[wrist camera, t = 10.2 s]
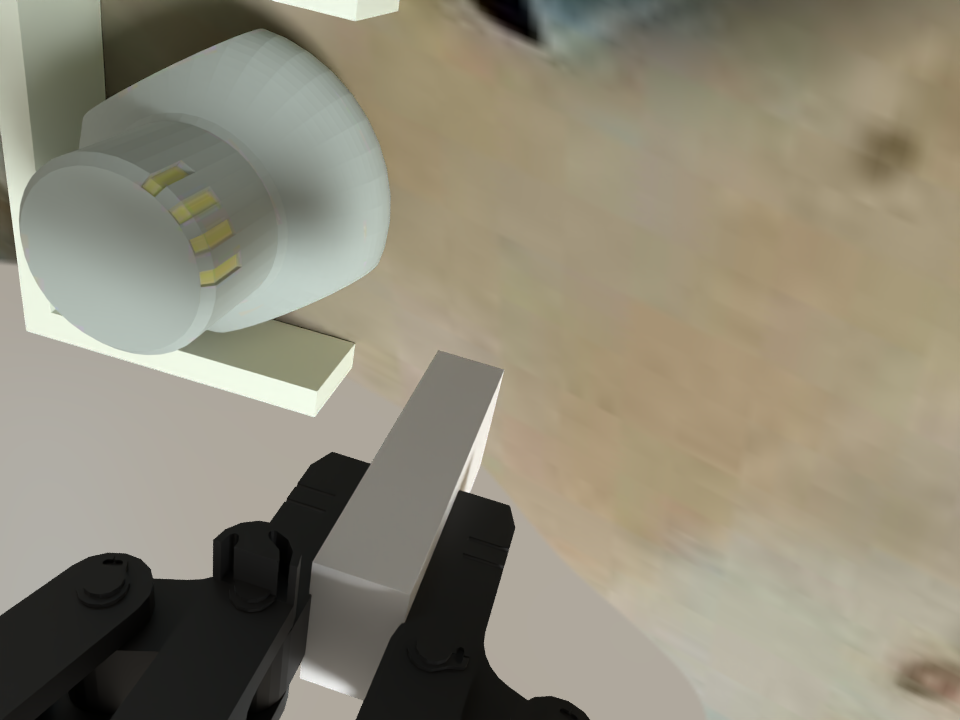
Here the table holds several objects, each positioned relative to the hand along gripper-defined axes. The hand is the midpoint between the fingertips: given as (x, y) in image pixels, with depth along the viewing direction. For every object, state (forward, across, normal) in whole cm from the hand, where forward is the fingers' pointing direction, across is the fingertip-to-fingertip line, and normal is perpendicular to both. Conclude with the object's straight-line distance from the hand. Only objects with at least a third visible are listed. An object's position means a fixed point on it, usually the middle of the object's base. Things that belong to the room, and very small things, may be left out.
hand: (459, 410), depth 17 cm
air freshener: (+13, -11, -1) cm, 17 cm away
